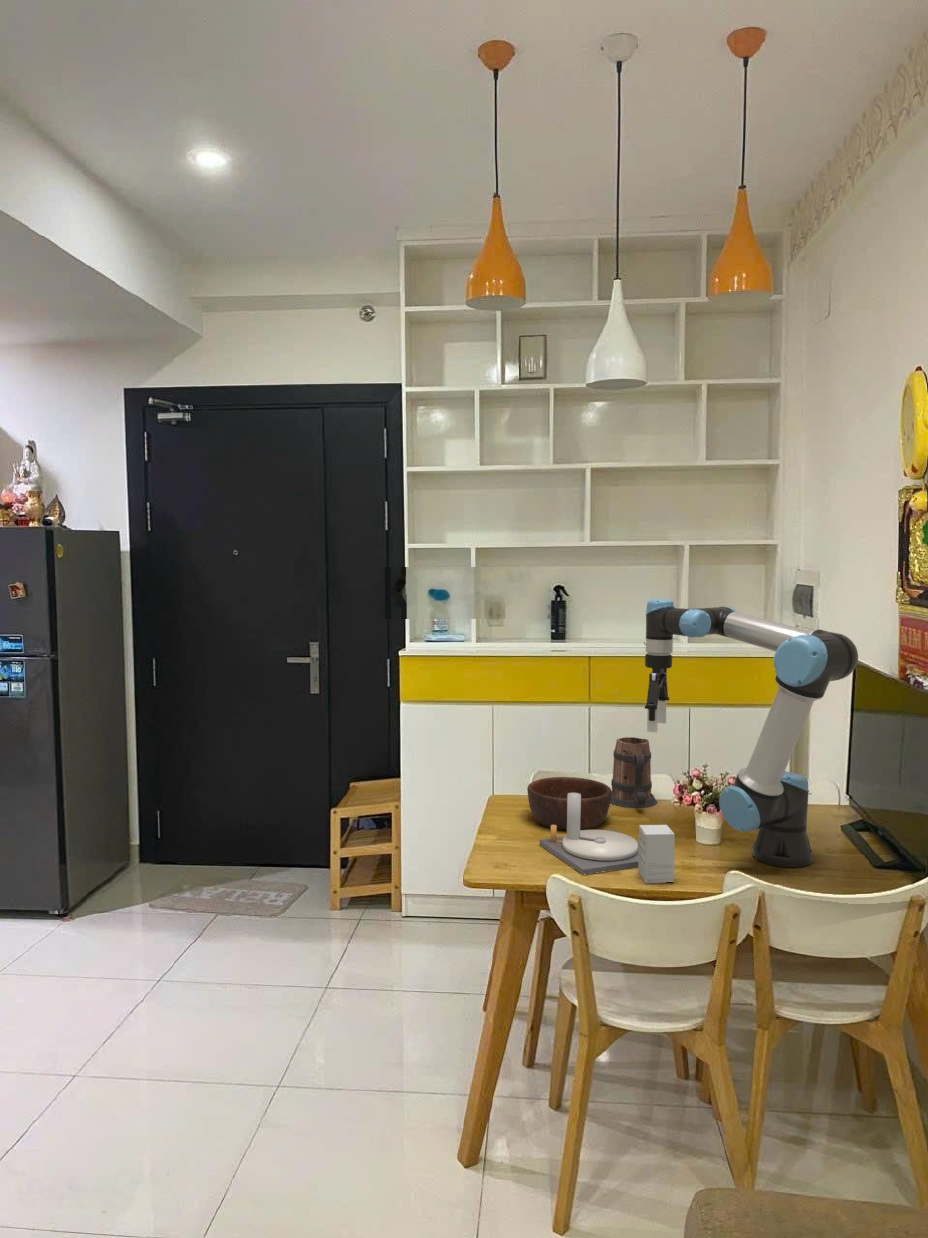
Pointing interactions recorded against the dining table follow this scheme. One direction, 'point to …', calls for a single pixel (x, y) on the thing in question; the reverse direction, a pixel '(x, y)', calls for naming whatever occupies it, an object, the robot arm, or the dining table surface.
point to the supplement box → (656, 853)
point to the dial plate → (582, 864)
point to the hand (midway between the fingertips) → (656, 727)
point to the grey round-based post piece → (594, 838)
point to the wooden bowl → (552, 801)
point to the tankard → (632, 774)
